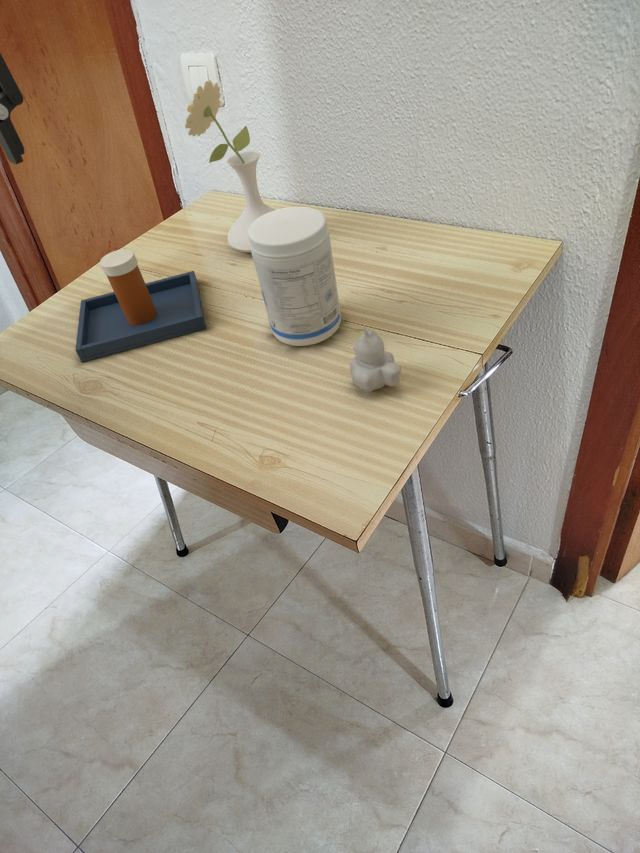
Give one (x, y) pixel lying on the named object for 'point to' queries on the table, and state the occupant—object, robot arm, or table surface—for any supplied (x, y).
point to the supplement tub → (296, 274)
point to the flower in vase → (230, 161)
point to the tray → (112, 333)
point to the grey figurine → (373, 363)
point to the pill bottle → (129, 286)
